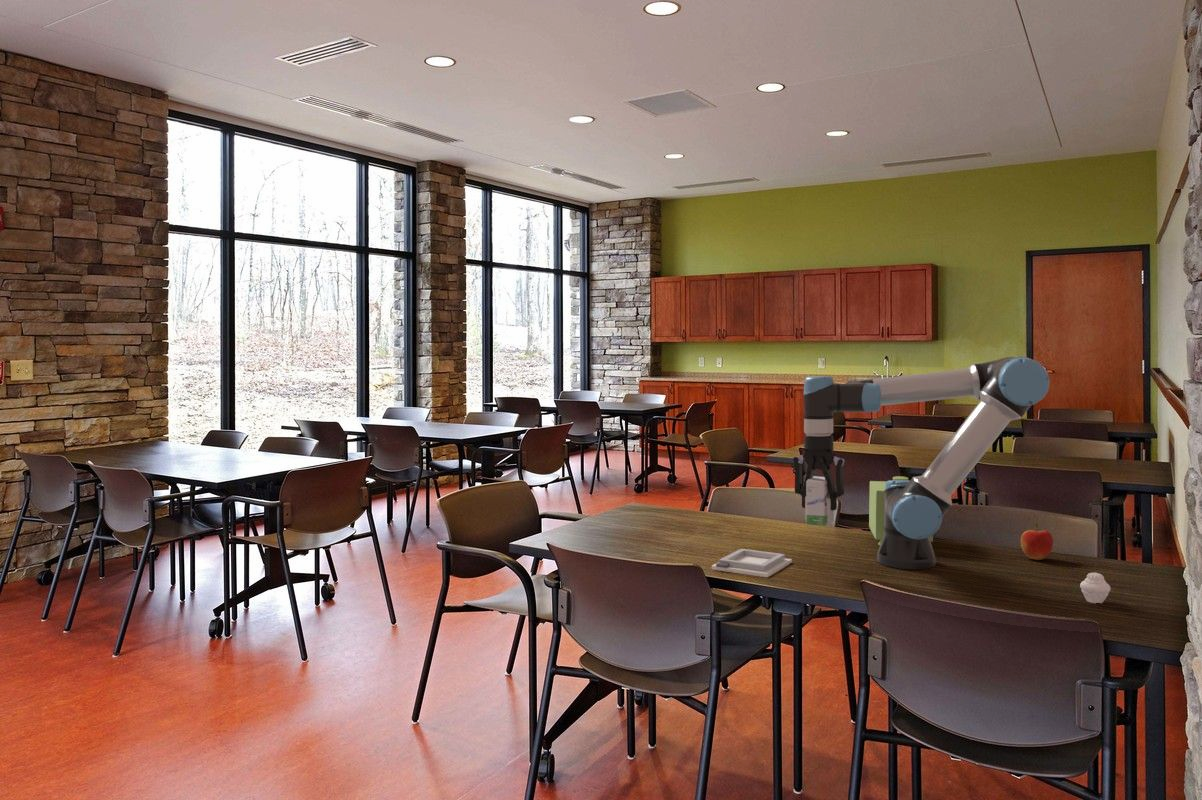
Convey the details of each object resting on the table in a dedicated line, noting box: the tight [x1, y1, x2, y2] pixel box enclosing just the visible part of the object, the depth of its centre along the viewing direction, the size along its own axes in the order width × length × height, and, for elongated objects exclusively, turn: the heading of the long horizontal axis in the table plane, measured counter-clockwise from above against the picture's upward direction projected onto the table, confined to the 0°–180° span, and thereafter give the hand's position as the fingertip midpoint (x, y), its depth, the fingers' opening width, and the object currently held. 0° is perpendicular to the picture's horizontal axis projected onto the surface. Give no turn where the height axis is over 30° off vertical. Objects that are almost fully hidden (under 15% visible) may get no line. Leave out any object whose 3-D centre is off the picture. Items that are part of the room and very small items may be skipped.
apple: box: [1020, 523, 1054, 561], centre depth 239 cm, size 8×8×10 cm
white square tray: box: [711, 548, 793, 578], centre depth 234 cm, size 16×18×2 cm
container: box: [868, 475, 934, 546], centre depth 262 cm, size 19×16×20 cm
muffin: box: [1079, 572, 1112, 604], centre depth 199 cm, size 6×6×7 cm
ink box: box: [806, 475, 830, 527], centre depth 227 cm, size 8×5×12 cm, turn 152°
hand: (819, 521), depth 227 cm, fingers closed on ink box, 5 cm apart
